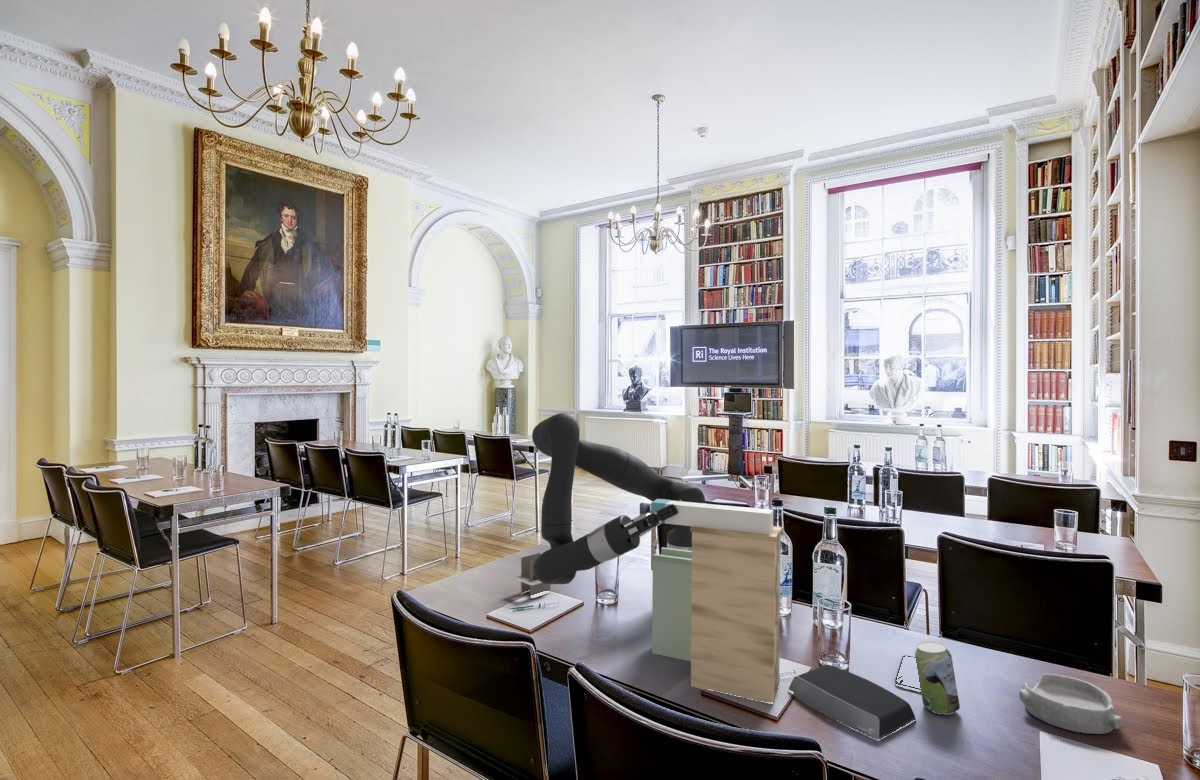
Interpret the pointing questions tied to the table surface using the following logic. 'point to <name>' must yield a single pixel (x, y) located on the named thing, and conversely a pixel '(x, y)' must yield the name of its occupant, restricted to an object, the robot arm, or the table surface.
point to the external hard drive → (852, 700)
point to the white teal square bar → (718, 516)
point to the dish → (1071, 704)
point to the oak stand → (736, 612)
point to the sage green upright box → (672, 603)
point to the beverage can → (937, 678)
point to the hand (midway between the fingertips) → (679, 506)
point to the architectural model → (530, 576)
